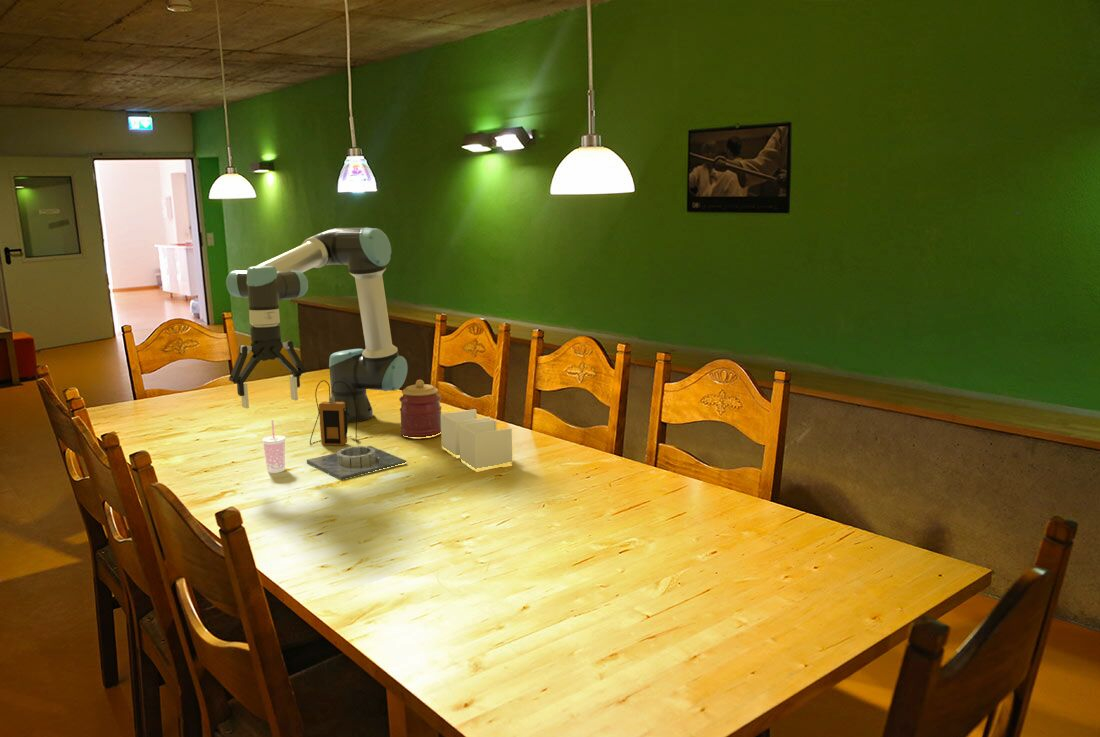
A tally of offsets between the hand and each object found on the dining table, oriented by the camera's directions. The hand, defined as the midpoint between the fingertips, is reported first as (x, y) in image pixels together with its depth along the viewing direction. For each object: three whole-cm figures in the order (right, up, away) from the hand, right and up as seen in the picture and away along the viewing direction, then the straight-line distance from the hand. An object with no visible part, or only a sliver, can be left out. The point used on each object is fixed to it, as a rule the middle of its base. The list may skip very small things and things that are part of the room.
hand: (270, 403), depth 221 cm
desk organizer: (+54, -16, +14) cm, 58 cm away
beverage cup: (0, -19, +4) cm, 19 cm away
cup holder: (+21, -17, +9) cm, 29 cm away
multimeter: (+10, -13, +31) cm, 35 cm away
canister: (+35, -12, +38) cm, 53 cm away
